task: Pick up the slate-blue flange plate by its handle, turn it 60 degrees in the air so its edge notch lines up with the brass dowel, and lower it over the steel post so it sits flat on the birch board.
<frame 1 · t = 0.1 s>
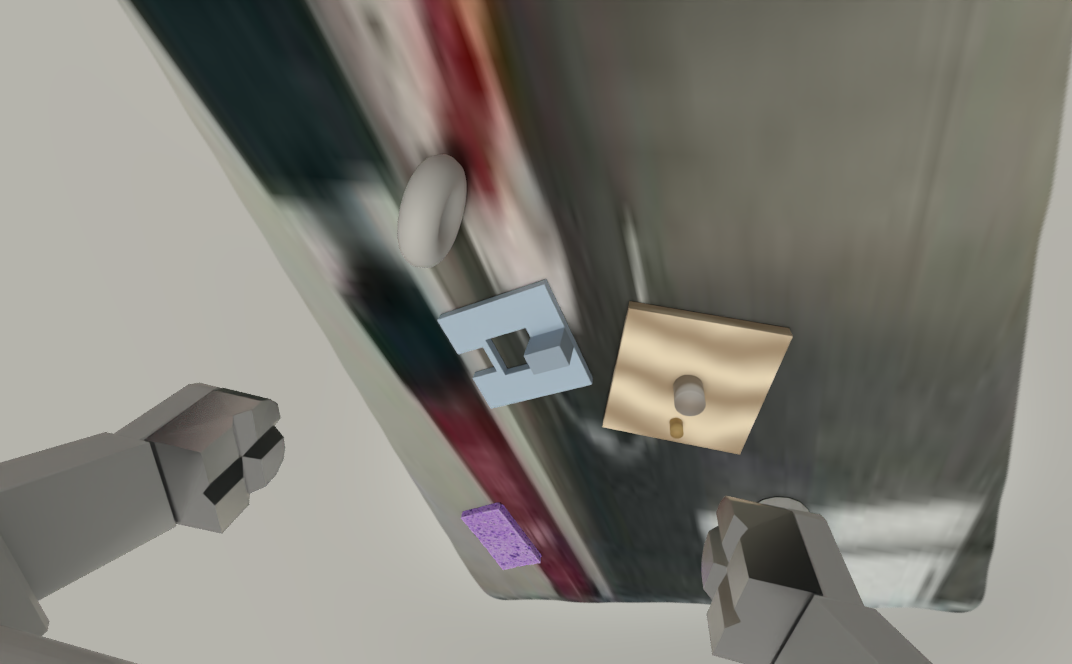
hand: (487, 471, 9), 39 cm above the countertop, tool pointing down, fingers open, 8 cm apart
flange plate: (517, 346, 55), on the countertop
sponges: (503, 529, 75), on the countertop
post board: (687, 377, 53), on the countertop
white cup: (778, 513, 62), on the countertop
donut: (453, 195, 48), on the countertop
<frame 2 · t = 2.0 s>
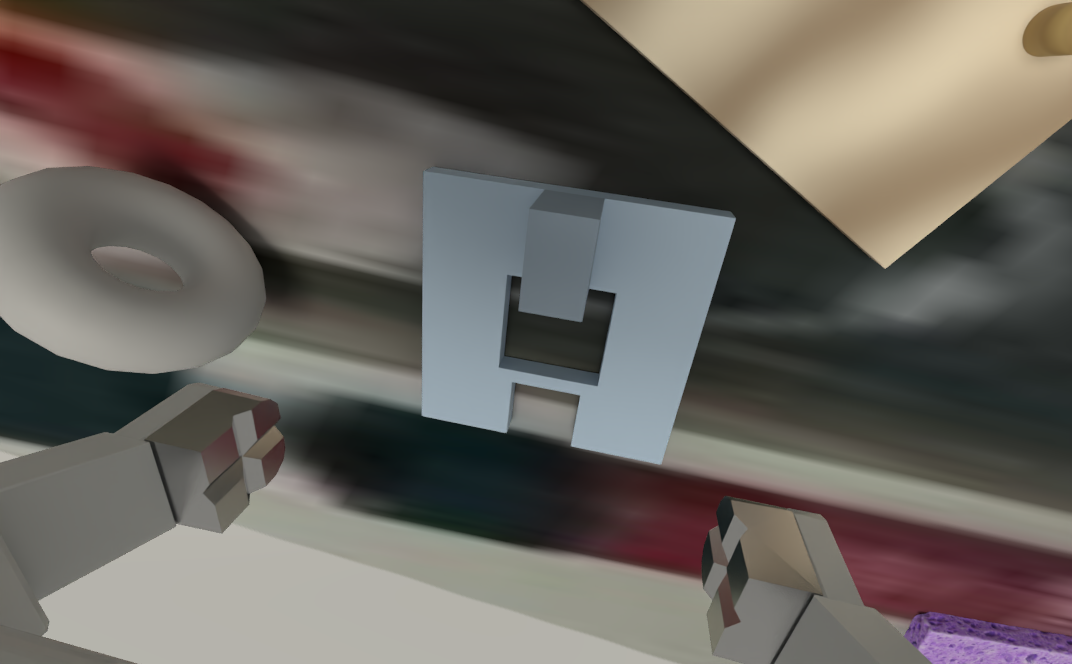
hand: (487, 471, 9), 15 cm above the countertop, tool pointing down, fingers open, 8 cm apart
flange plate: (557, 321, 24), on the countertop
sponges: (1003, 653, 30), on the countertop
donut: (228, 234, 26), on the countertop
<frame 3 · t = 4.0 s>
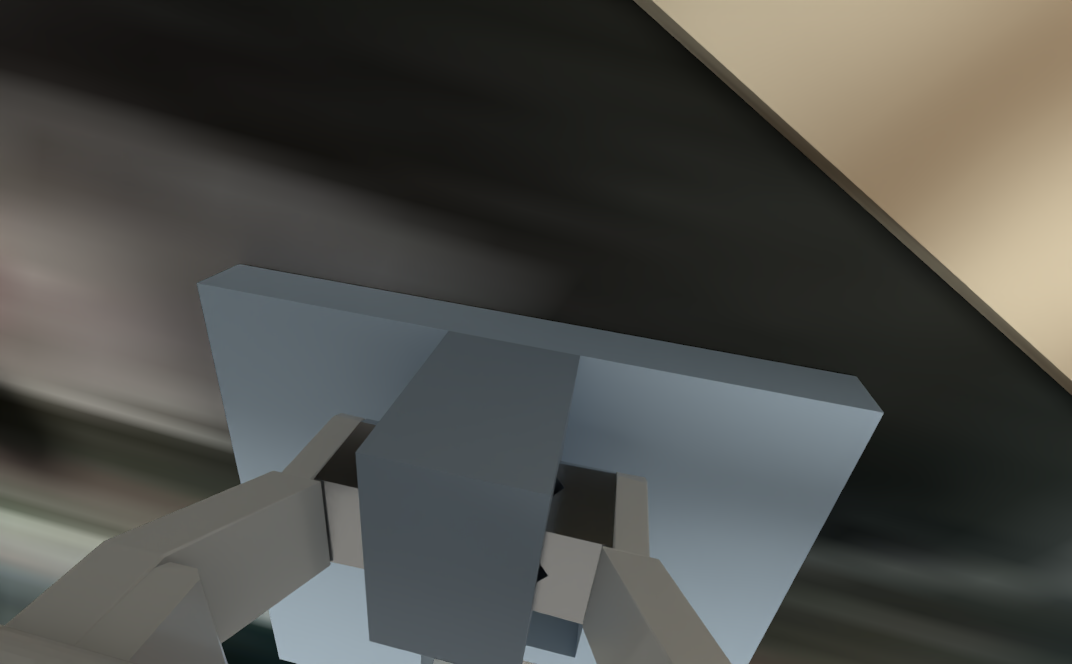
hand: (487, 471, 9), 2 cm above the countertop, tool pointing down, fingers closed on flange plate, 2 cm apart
flange plate: (501, 534, 13), on the countertop, touching gripper
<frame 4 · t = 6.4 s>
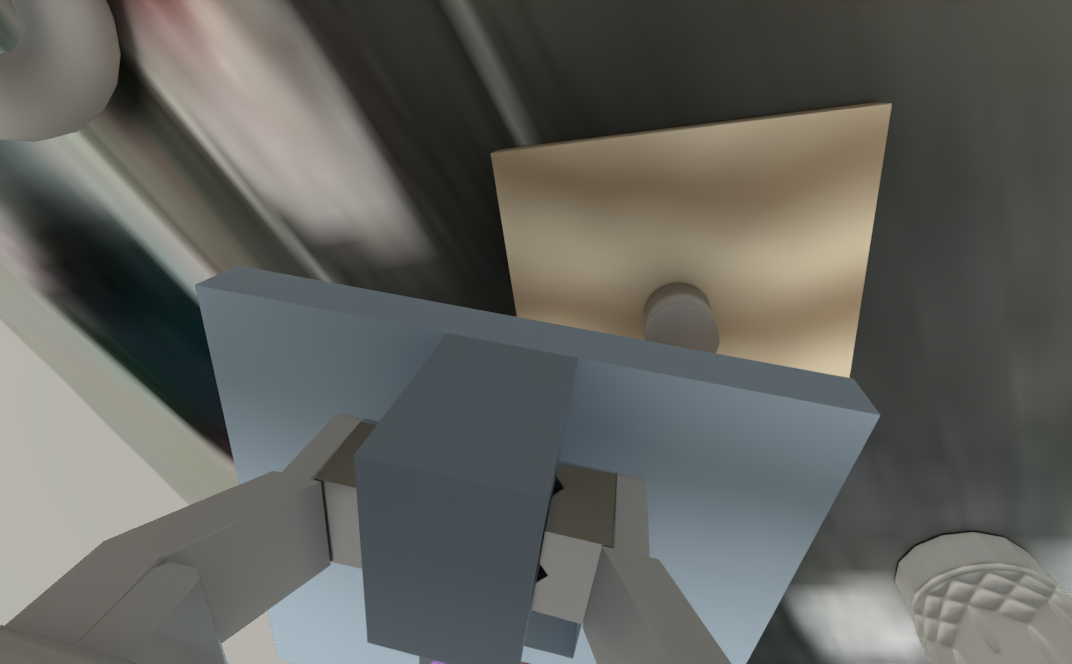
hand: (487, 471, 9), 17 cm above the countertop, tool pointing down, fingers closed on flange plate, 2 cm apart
flange plate: (499, 535, 13), point 15 cm above the countertop, touching gripper
post board: (674, 300, 25), on the countertop
white cup: (958, 569, 29), on the countertop
donut: (105, 20, 24), on the countertop
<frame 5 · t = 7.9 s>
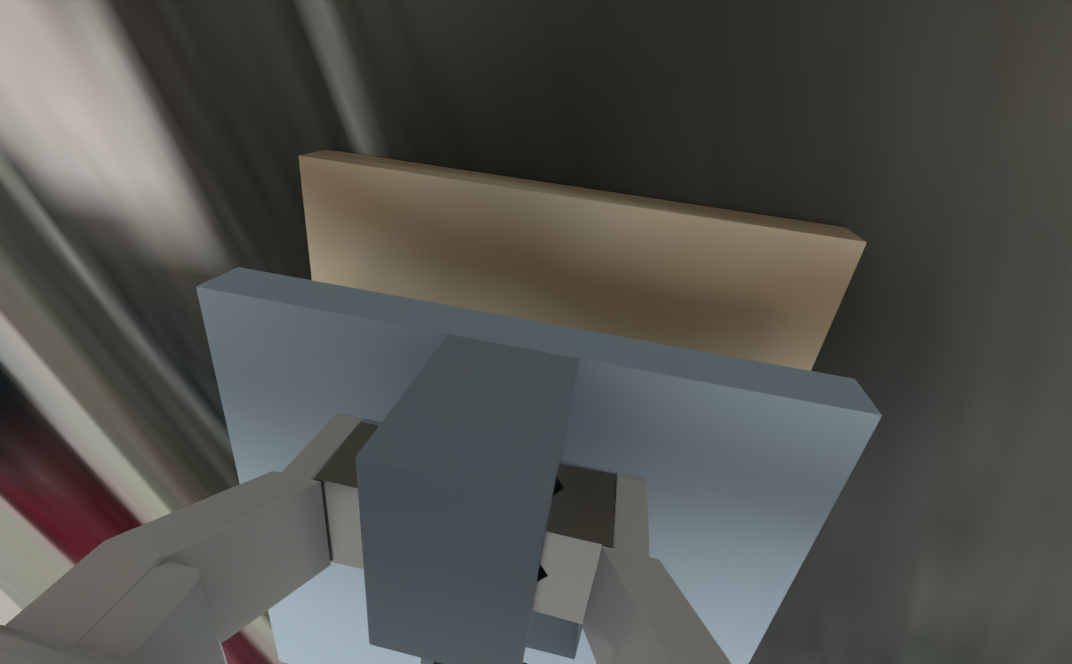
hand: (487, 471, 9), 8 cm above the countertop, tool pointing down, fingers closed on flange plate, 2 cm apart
flange plate: (500, 536, 13), point 6 cm above the countertop, touching gripper
post board: (540, 405, 18), on the countertop
when the fingers open (4 cm above the countertop, at t = 9.0 s): flange plate stays where it is, resting on post board.
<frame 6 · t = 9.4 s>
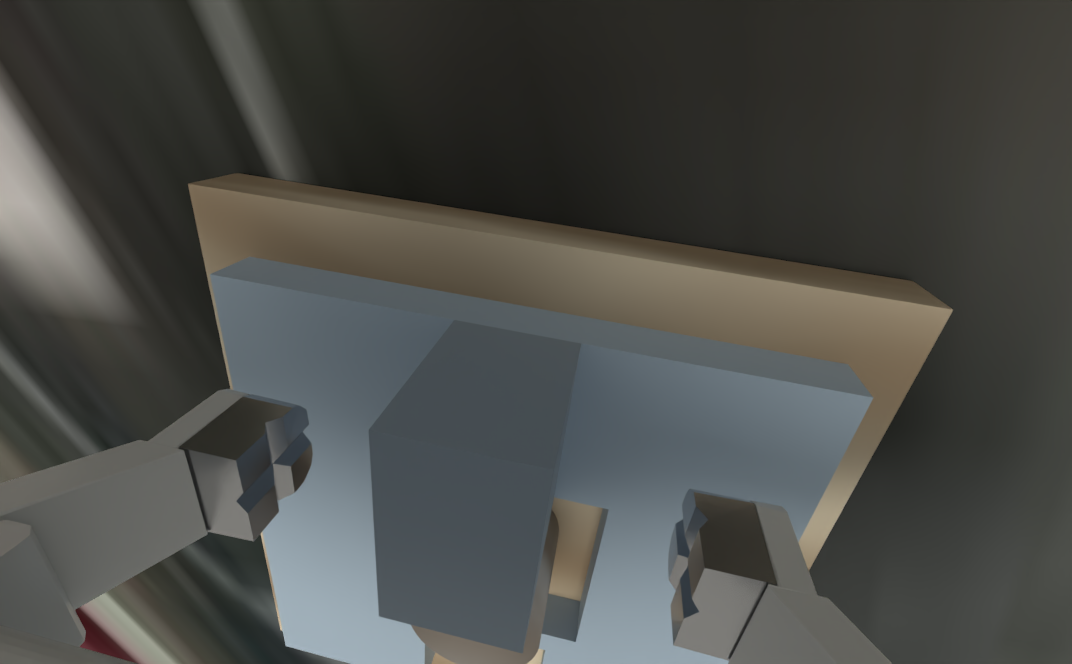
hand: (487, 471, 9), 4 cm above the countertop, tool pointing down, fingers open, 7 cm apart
flange plate: (503, 521, 14), point 1 cm above the countertop, touching post board
post board: (516, 484, 15), on the countertop
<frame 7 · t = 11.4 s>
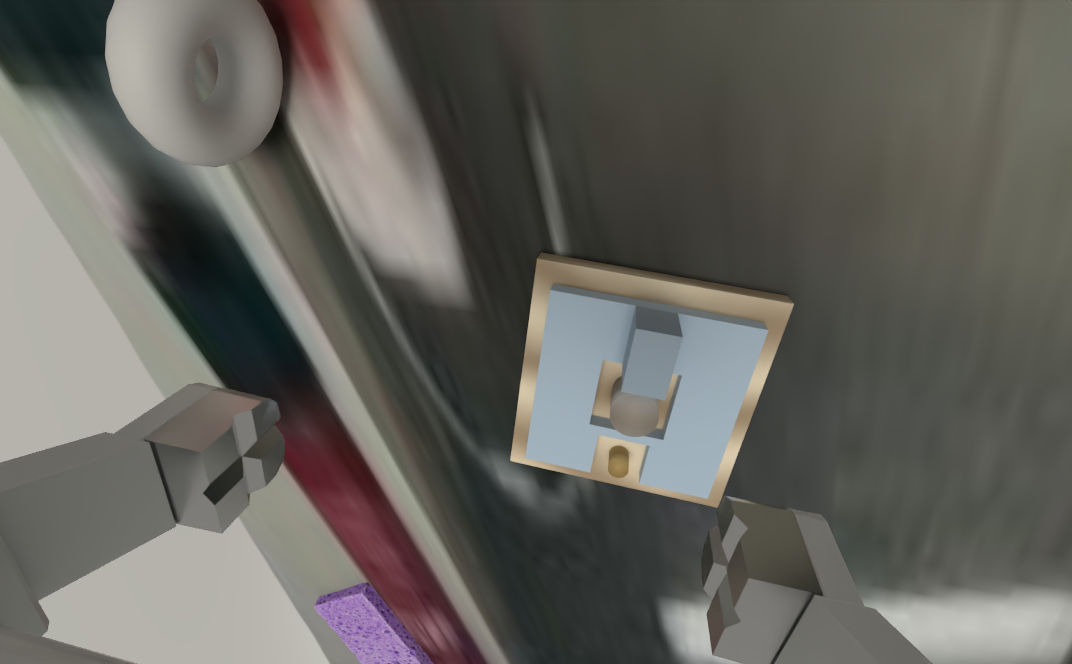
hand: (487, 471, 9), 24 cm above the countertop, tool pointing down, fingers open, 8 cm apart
flange plate: (633, 391, 33), point 1 cm above the countertop, touching post board
sponges: (380, 624, 52), on the countertop
post board: (634, 381, 35), on the countertop
donut: (271, 78, 31), on the countertop
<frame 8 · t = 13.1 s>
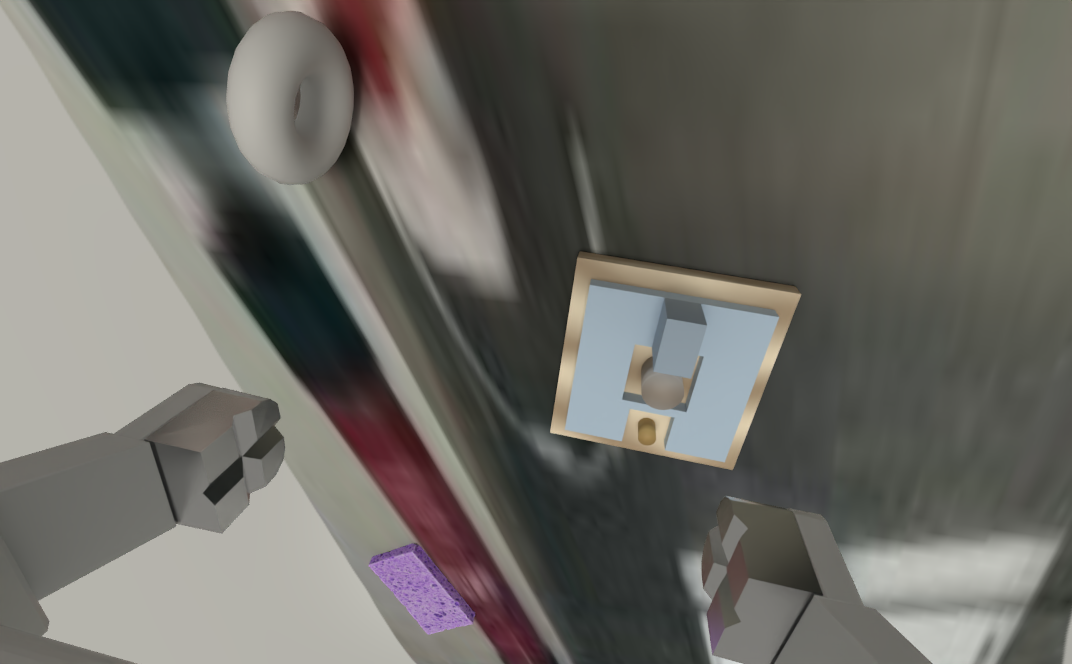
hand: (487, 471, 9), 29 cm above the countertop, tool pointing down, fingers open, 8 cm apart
flange plate: (660, 370, 38), point 1 cm above the countertop, touching post board
sponges: (426, 580, 59), on the countertop
post board: (660, 361, 40), on the countertop
donut: (341, 101, 35), on the countertop
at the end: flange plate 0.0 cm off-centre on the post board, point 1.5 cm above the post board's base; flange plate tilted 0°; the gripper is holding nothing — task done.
